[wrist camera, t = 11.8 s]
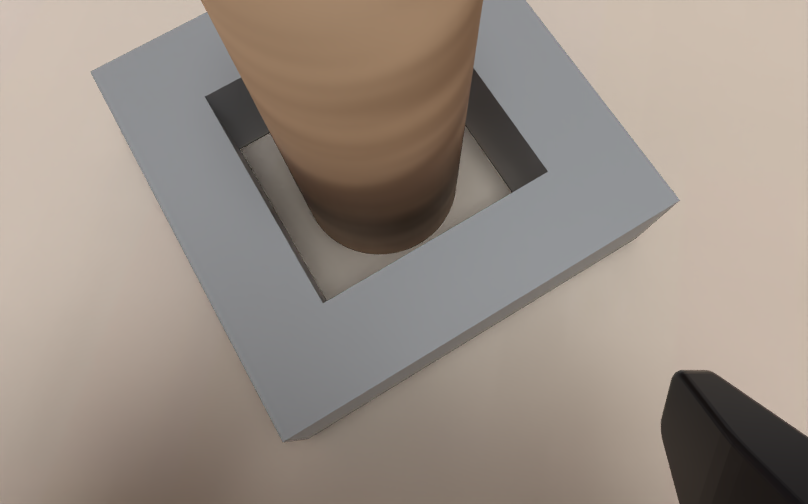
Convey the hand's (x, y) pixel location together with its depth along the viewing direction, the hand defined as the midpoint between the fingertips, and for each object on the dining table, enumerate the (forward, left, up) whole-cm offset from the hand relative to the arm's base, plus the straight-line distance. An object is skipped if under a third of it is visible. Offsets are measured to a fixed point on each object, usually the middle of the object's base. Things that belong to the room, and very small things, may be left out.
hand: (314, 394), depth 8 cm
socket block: (+4, +6, -11) cm, 13 cm away
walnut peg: (+4, +6, -11) cm, 13 cm away
